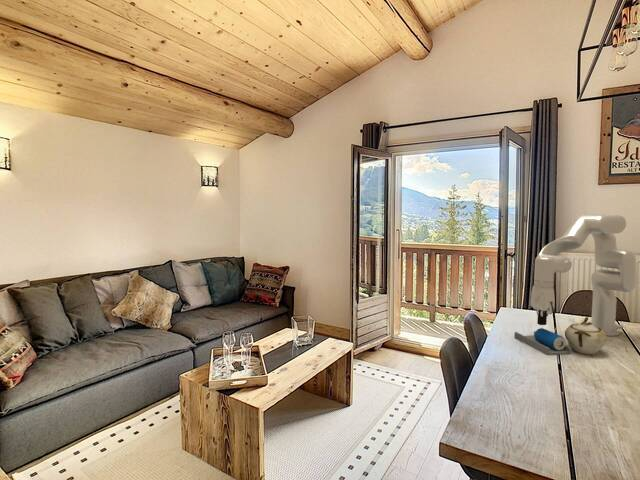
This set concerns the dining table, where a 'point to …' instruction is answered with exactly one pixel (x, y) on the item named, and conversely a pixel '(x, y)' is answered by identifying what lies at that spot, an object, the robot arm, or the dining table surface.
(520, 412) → the dining table surface
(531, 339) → the tray
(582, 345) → the sugar bowl
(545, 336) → the beverage can
